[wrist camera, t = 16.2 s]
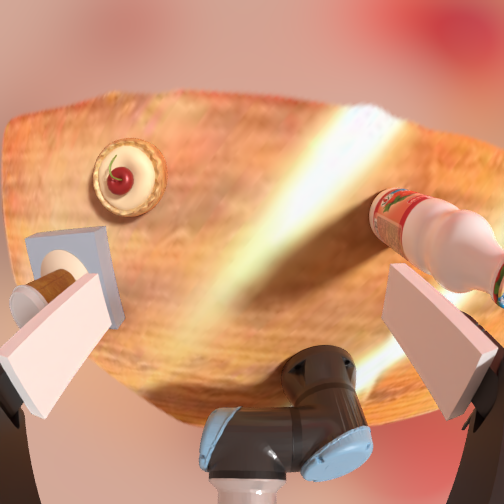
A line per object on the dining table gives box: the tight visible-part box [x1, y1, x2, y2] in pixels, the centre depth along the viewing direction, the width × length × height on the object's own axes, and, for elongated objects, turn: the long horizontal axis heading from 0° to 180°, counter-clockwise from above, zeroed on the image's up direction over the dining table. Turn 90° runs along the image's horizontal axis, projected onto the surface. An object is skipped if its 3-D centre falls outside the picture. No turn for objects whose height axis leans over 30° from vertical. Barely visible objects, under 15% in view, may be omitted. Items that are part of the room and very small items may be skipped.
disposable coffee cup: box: [9, 269, 76, 329], centre depth 37 cm, size 10×10×12 cm
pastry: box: [93, 138, 168, 217], centre depth 37 cm, size 12×12×9 cm
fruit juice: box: [369, 188, 504, 308], centre depth 29 cm, size 9×9×28 cm
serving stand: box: [25, 226, 125, 329], centre depth 44 cm, size 18×18×4 cm
